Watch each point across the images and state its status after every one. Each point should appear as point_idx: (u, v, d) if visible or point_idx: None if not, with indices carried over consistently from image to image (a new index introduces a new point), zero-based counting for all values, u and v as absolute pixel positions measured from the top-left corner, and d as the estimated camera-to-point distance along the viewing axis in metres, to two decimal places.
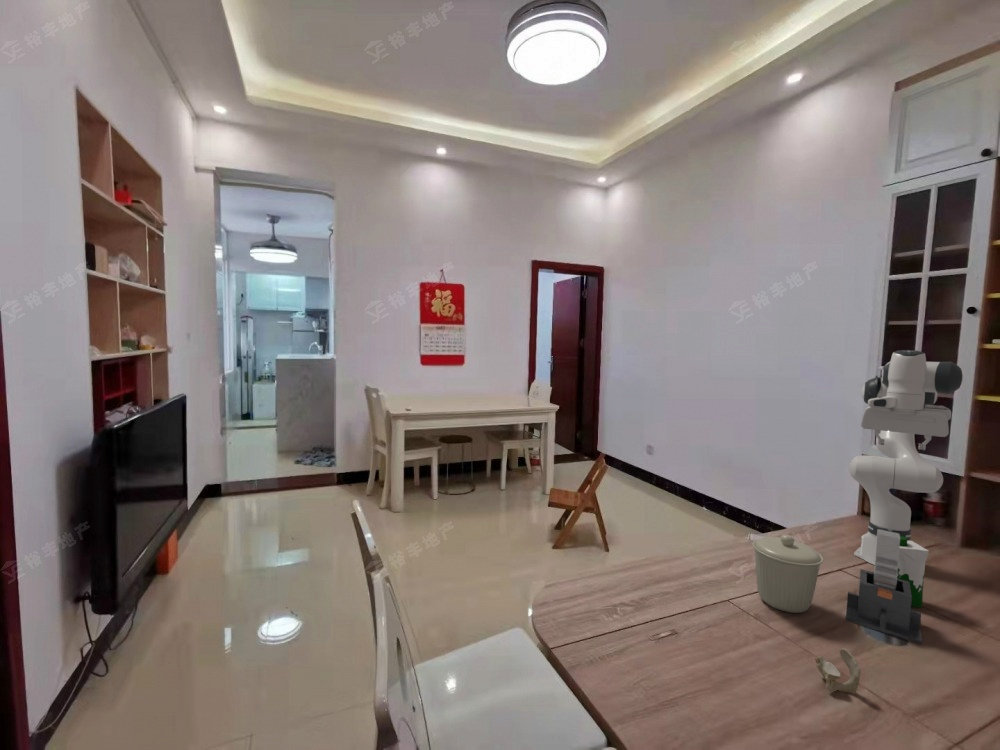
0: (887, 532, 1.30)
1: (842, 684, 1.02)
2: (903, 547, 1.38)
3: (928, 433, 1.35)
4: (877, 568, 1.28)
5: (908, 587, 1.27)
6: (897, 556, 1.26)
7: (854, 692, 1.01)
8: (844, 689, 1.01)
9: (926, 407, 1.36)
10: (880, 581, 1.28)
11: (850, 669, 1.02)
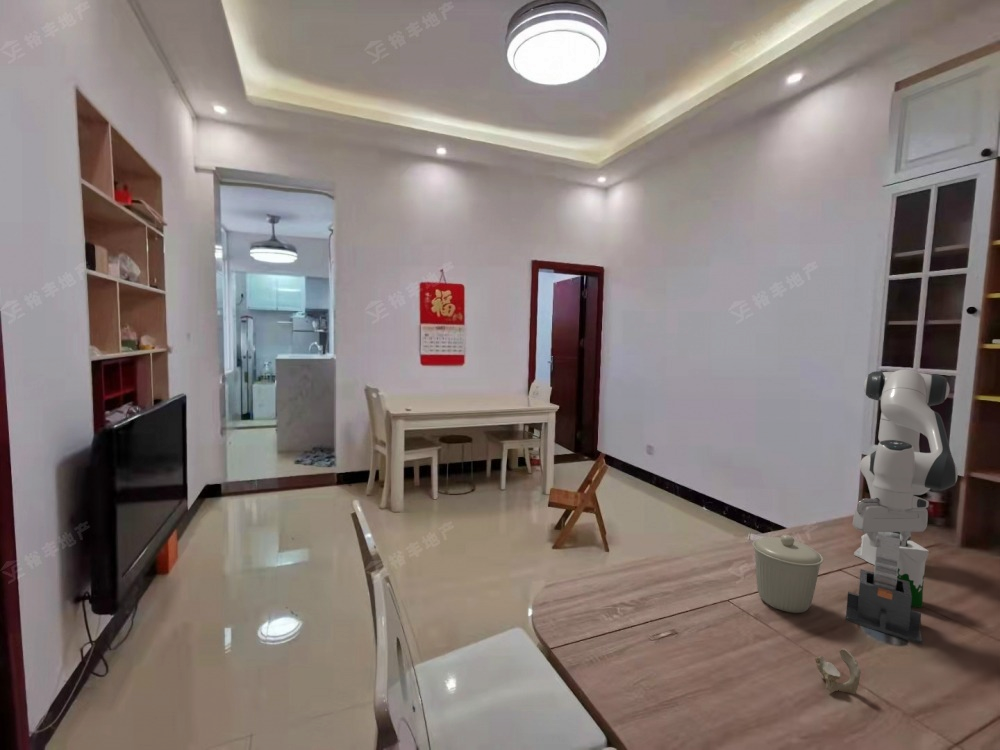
0: (887, 532, 1.30)
1: (842, 684, 1.02)
2: (903, 546, 1.38)
3: None
4: (877, 568, 1.28)
5: (908, 587, 1.27)
6: (897, 556, 1.26)
7: (854, 692, 1.01)
8: (844, 689, 1.01)
9: None
10: (880, 581, 1.28)
11: (850, 669, 1.02)
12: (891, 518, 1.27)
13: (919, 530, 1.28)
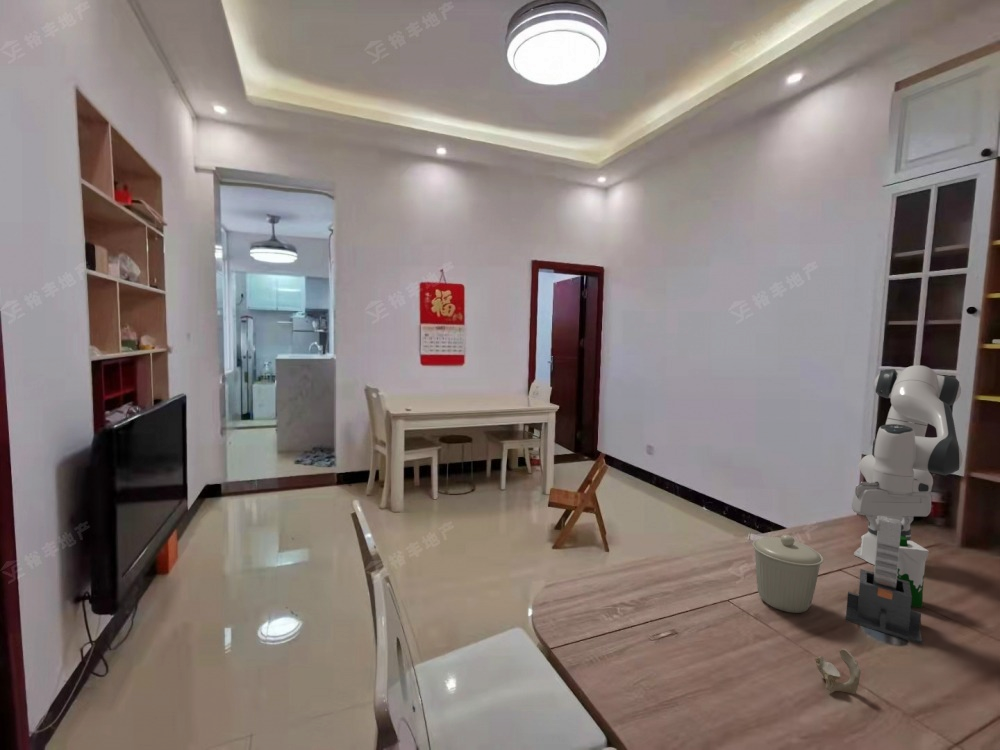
0: (888, 519, 1.29)
1: (842, 684, 1.02)
2: (903, 546, 1.38)
3: None
4: (878, 555, 1.28)
5: (908, 587, 1.27)
6: (898, 542, 1.26)
7: (854, 692, 1.01)
8: (844, 689, 1.01)
9: None
10: (881, 568, 1.28)
11: (850, 669, 1.02)
12: (891, 502, 1.27)
13: (922, 515, 1.27)
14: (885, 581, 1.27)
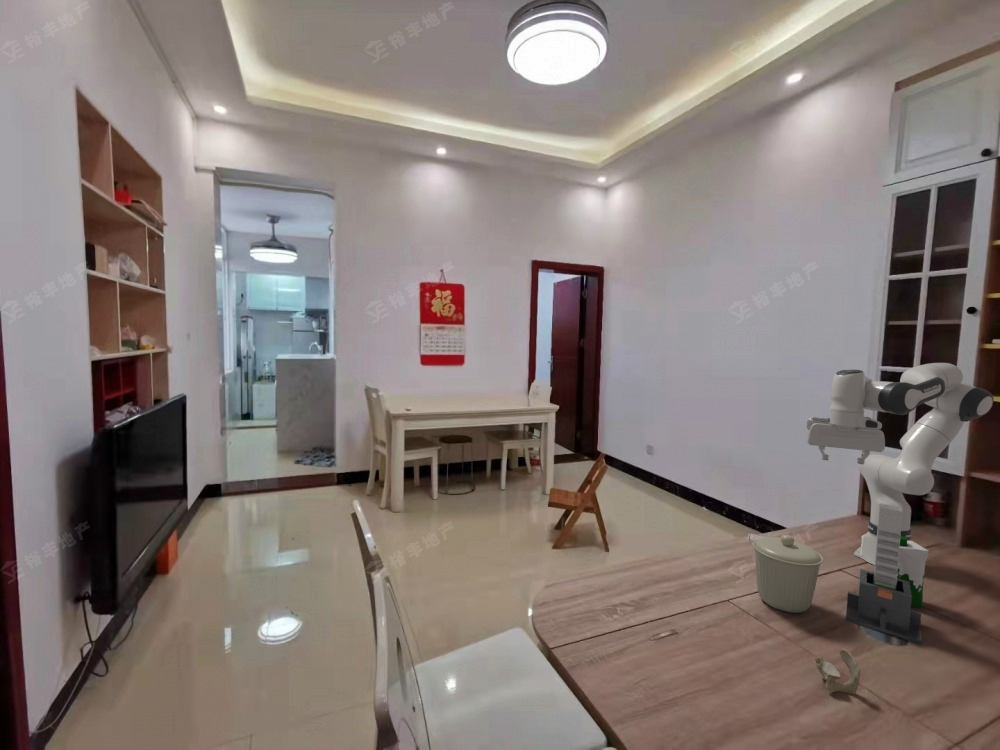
0: (889, 506, 1.29)
1: (842, 684, 1.01)
2: (903, 546, 1.38)
3: None
4: (879, 542, 1.27)
5: (908, 587, 1.27)
6: (899, 529, 1.25)
7: (854, 693, 1.01)
8: (844, 689, 1.01)
9: None
10: (882, 555, 1.28)
11: (850, 669, 1.02)
12: (841, 436, 1.46)
13: (875, 450, 1.42)
14: (886, 568, 1.27)
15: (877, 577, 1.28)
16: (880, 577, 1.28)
